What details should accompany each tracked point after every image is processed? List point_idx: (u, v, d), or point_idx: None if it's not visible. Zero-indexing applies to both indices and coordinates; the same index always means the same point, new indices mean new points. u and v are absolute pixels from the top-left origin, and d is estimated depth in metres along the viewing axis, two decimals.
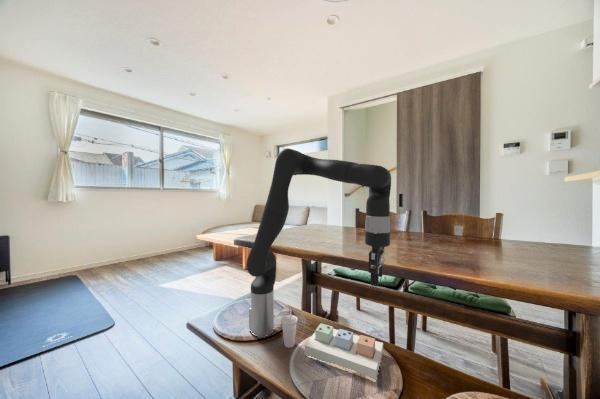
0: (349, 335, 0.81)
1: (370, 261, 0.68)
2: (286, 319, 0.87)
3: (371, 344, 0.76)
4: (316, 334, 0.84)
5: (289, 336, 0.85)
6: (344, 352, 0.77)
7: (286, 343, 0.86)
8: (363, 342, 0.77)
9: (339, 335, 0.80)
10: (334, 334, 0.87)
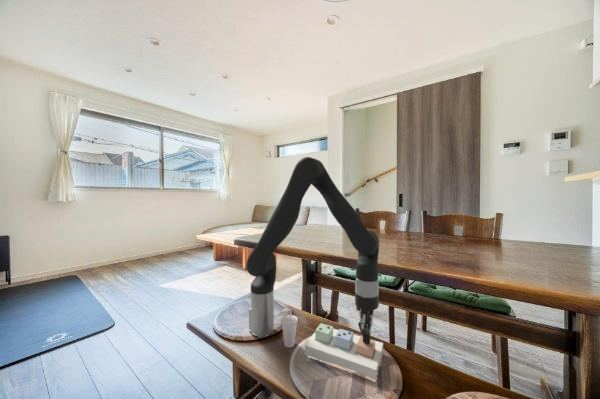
0: (349, 335, 0.81)
1: (361, 329, 0.74)
2: (286, 319, 0.87)
3: (371, 346, 0.76)
4: (316, 334, 0.84)
5: (289, 336, 0.85)
6: (344, 352, 0.77)
7: (286, 343, 0.86)
8: (363, 344, 0.77)
9: (339, 335, 0.80)
10: (334, 334, 0.87)
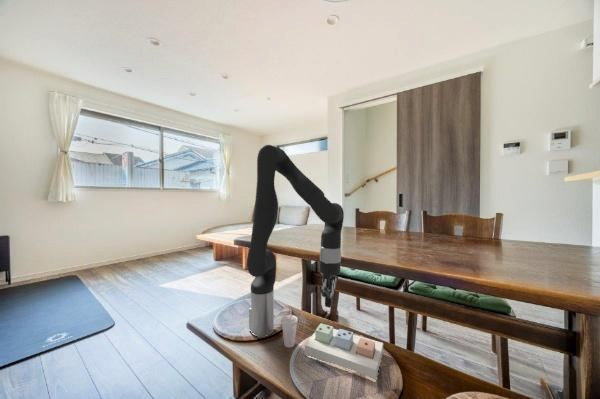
0: (349, 335, 0.81)
1: (322, 292, 0.80)
2: (286, 319, 0.87)
3: (371, 347, 0.76)
4: (316, 334, 0.84)
5: (289, 336, 0.85)
6: (344, 352, 0.77)
7: (286, 343, 0.86)
8: (363, 345, 0.77)
9: (339, 335, 0.80)
10: (334, 334, 0.87)
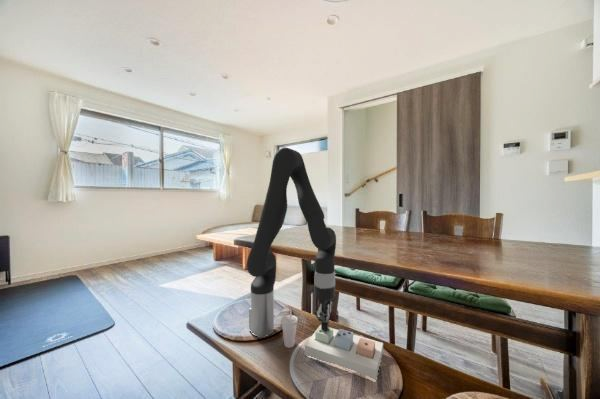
0: (349, 335, 0.81)
1: (317, 317, 0.81)
2: (286, 319, 0.87)
3: (371, 347, 0.76)
4: (316, 336, 0.84)
5: (289, 336, 0.85)
6: (344, 352, 0.77)
7: (286, 343, 0.86)
8: (363, 345, 0.77)
9: (339, 335, 0.80)
10: (334, 334, 0.87)
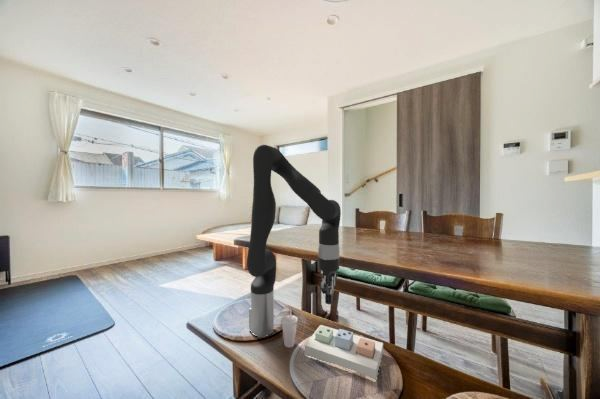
0: (349, 335, 0.81)
1: (321, 289, 0.80)
2: (286, 319, 0.87)
3: (371, 347, 0.76)
4: (316, 337, 0.84)
5: (289, 336, 0.85)
6: (344, 352, 0.77)
7: (286, 343, 0.86)
8: (363, 345, 0.77)
9: (339, 335, 0.80)
10: (334, 334, 0.87)
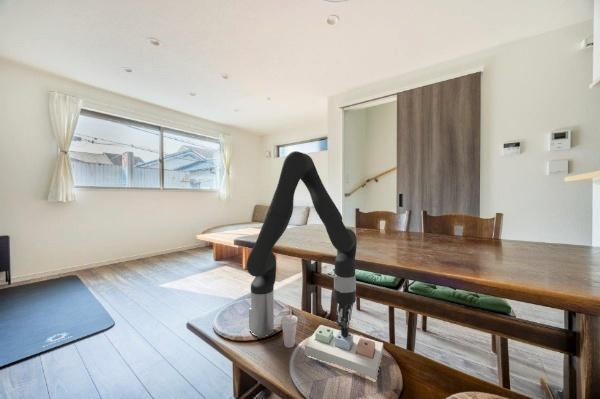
0: (349, 337, 0.81)
1: (338, 322, 0.77)
2: (286, 319, 0.87)
3: (371, 347, 0.76)
4: (316, 337, 0.84)
5: (289, 336, 0.85)
6: (344, 352, 0.77)
7: (286, 343, 0.86)
8: (363, 345, 0.77)
9: (339, 337, 0.81)
10: (334, 334, 0.87)
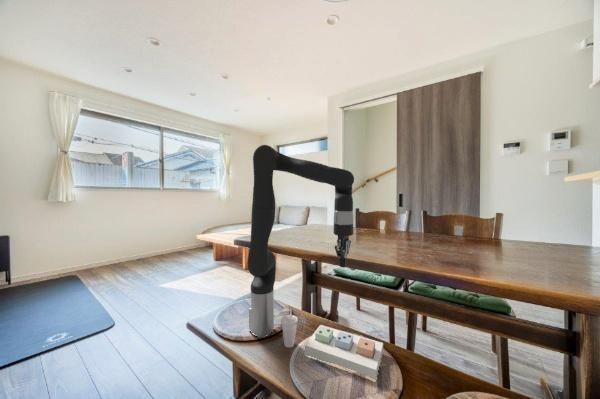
0: (349, 338, 0.81)
1: (337, 251, 0.86)
2: (286, 319, 0.87)
3: (371, 347, 0.76)
4: (316, 337, 0.84)
5: (289, 336, 0.85)
6: (344, 352, 0.77)
7: (286, 343, 0.86)
8: (363, 345, 0.77)
9: (339, 338, 0.81)
10: (334, 334, 0.87)
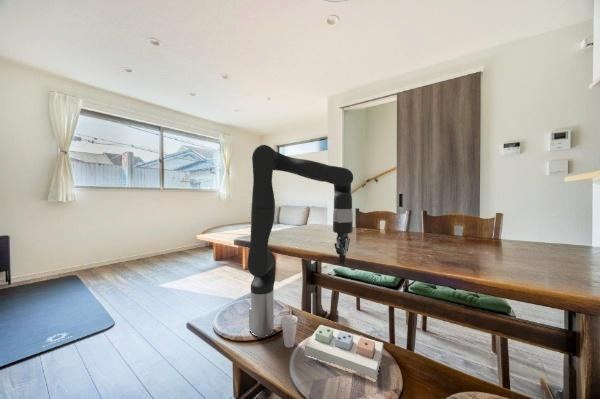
0: (349, 338, 0.81)
1: (336, 249, 0.87)
2: (286, 319, 0.87)
3: (371, 347, 0.76)
4: (316, 337, 0.84)
5: (289, 336, 0.85)
6: (344, 352, 0.77)
7: (286, 343, 0.86)
8: (363, 345, 0.77)
9: (339, 338, 0.81)
10: (334, 334, 0.87)
